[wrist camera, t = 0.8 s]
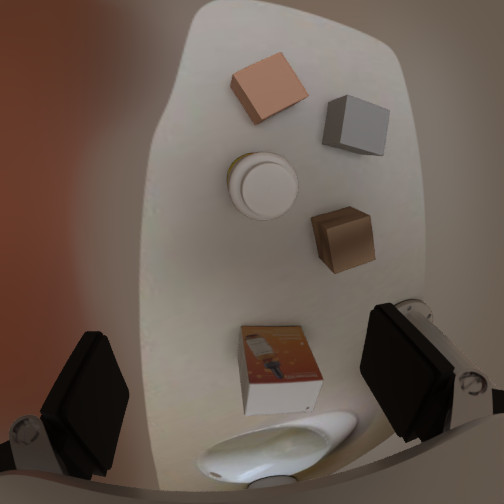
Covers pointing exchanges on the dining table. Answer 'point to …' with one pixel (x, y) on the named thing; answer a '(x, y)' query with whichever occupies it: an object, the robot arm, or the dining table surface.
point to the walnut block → (344, 238)
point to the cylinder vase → (272, 482)
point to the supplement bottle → (262, 185)
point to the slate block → (356, 126)
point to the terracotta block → (267, 87)
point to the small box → (277, 371)
